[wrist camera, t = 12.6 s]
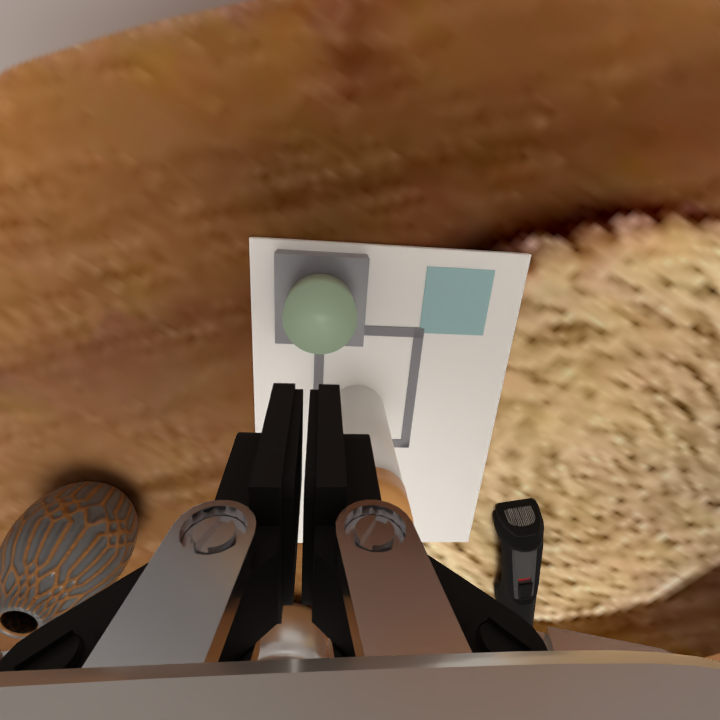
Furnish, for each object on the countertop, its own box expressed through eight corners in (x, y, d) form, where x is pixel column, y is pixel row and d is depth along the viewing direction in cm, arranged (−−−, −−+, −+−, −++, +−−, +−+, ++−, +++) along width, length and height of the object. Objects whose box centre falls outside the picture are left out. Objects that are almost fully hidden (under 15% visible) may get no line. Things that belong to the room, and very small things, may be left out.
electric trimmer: (489, 628, 39) (502, 664, 36) (489, 501, 33) (505, 533, 30) (528, 622, 39) (544, 657, 36) (536, 494, 33) (556, 524, 30)
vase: (169, 494, 30) (111, 609, 22) (125, 554, 32) (56, 681, 24) (73, 447, 28) (-30, 555, 20) (31, 515, 30) (-78, 638, 22)
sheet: (527, 252, 25) (532, 255, 24) (465, 535, 34) (468, 542, 33) (250, 236, 24) (248, 238, 23) (260, 536, 32) (258, 543, 31)
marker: (387, 385, 27) (418, 493, 18) (381, 434, 29) (408, 559, 19) (328, 383, 27) (330, 493, 17) (326, 433, 28) (326, 559, 19)
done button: (357, 275, 22) (360, 284, 20) (352, 341, 23) (355, 355, 21) (285, 271, 21) (281, 280, 19) (285, 339, 23) (282, 353, 21)
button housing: (367, 253, 24) (369, 258, 22) (361, 337, 26) (363, 346, 24) (276, 248, 23) (274, 253, 22) (277, 334, 25) (274, 343, 24)
